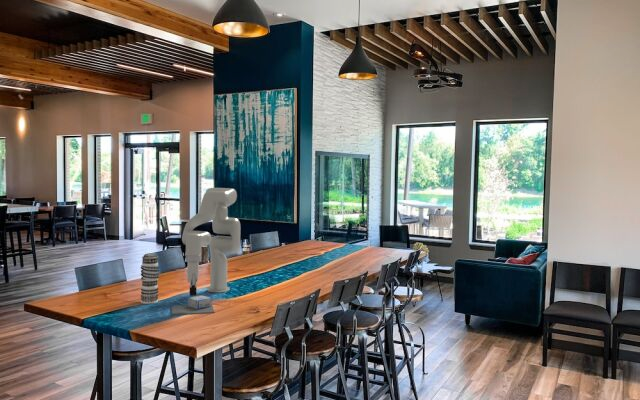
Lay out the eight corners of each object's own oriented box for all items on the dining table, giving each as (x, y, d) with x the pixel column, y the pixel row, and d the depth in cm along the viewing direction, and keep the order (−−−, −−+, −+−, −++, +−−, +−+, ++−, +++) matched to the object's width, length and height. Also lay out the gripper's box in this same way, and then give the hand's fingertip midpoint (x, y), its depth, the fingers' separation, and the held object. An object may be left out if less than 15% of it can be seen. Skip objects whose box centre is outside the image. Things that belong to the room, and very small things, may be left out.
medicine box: (200, 294, 247) (211, 297, 241) (200, 303, 247) (211, 306, 241) (187, 297, 240) (198, 300, 235) (187, 306, 241) (198, 309, 235)
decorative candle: (136, 303, 244) (137, 255, 243) (145, 298, 254) (146, 252, 252) (153, 304, 243) (154, 256, 242) (161, 299, 252) (162, 253, 251)
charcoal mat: (171, 307, 240) (171, 306, 240) (212, 305, 246) (212, 304, 246) (171, 315, 226) (171, 314, 226) (214, 312, 232) (214, 311, 232)
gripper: (185, 255, 240) (184, 291, 241) (186, 261, 226) (185, 299, 227) (200, 255, 242) (199, 291, 243) (202, 260, 228) (201, 298, 229)
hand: (192, 295), depth 235 cm, fingers closed
